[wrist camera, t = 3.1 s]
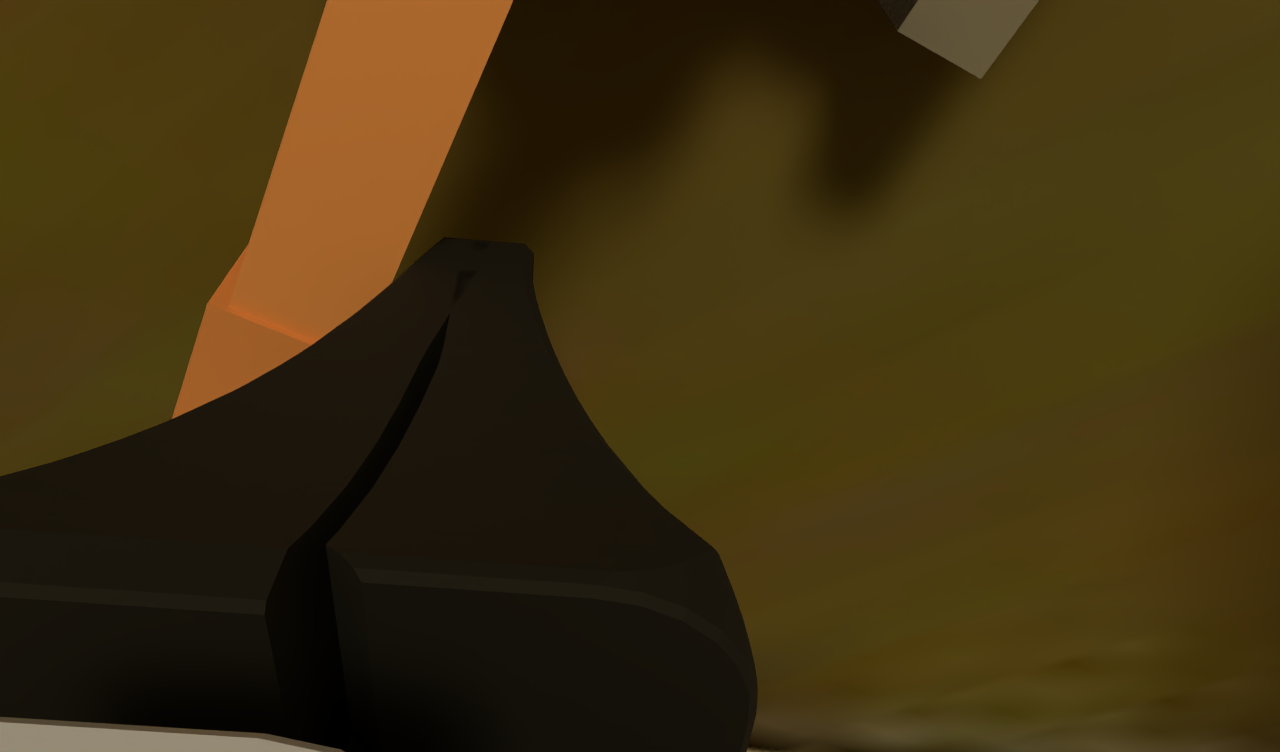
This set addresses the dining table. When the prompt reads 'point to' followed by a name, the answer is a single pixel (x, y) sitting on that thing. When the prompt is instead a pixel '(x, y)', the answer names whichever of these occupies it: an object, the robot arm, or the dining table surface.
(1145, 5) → the dining table surface
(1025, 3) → the valve
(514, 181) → the dining table surface
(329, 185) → the lever
